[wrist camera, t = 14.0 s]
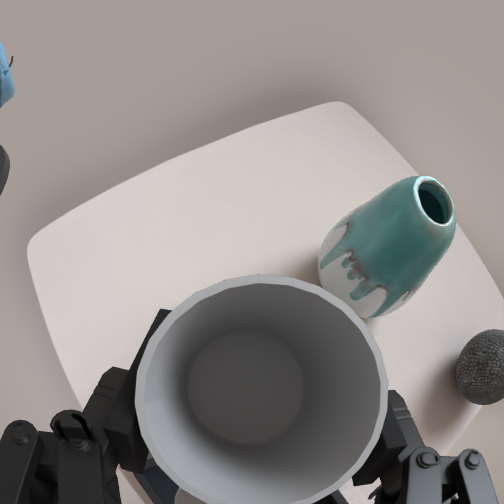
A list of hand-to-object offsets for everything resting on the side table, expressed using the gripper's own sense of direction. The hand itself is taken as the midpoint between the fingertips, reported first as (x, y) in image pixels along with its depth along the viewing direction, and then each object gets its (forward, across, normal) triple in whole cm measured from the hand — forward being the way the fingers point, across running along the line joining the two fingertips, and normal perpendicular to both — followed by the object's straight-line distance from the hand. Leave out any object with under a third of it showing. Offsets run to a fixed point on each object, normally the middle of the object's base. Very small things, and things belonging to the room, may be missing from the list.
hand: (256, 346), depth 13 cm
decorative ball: (+13, +32, -14) cm, 37 cm away
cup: (0, 0, -5) cm, 5 cm away
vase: (+21, +13, -6) cm, 26 cm away
